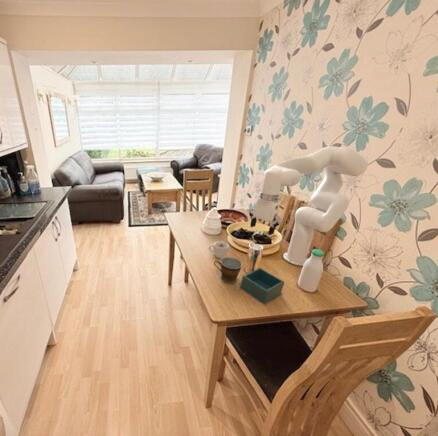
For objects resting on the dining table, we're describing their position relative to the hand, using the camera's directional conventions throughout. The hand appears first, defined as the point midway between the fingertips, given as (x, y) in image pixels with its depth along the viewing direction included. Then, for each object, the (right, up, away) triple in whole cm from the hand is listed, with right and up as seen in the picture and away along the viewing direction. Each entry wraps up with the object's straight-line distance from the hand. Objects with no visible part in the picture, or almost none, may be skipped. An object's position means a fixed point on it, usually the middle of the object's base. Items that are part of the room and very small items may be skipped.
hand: (261, 230), depth 116 cm
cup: (-14, -16, +24) cm, 32 cm away
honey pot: (-10, -3, +54) cm, 55 cm away
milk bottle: (+21, -28, -1) cm, 35 cm away
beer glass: (-1, -22, +10) cm, 25 cm away
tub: (-2, -28, -3) cm, 29 cm away
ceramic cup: (-16, -25, +5) cm, 30 cm away
